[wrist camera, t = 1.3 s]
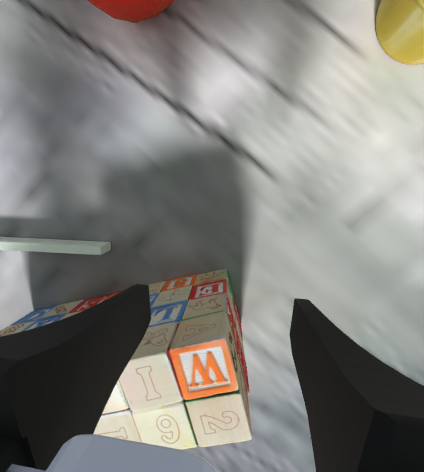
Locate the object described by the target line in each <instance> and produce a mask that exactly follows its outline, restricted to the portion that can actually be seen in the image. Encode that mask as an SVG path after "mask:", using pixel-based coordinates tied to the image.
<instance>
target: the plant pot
mask: <svg viewBox="0 0 424 472" xmlns="http://www.w3.org/2000/svg"><path fill="white" fill-rule="evenodd" d="M376 33H377V38H378V41H379V43H380V45H381V47H382V49H383V50H384V51H385V53H386V54H387V55H389V56H390V57H391V58H393V59H394V60H396V61H398V62H401V63H404V64H412V65H415V64H423V63H424V0H381V2H380V5H379V8H378V11H377V16H376Z"/></svg>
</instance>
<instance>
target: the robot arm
mask: <svg viewBox="0 0 424 472" xmlns="http://www.w3.org/2000/svg"><path fill="white" fill-rule="evenodd" d="M150 321H151V309H150V295H149V285H142V284H137V285H134V286H132V287H130V288H128V289H126V290H124V291H122V292H120V293H118V294H116V295H114V296H113V297H111V298H109V299H107V300H105V301H103V302H101V303H99V304H97V305H95V306H92V307H90V308H88V309H86V310H84V311H82V312H79V313H77V314H75V315H72V316H69V317H67V318H64V319H62V320H59V321H56V322H53V323H49V324H46V325H43V326H40V327H37V328H33V329H30V330H26V331H22V332H18V333H14V334H10V335H6V336H1V337H0V472H218V471H217V470H216V469H215V468H214V467H213V466H212V465H211V464H210V463H208V462H207V461H206V460H205V459H204V458H203V457H201V456H198V455H195V454H193V453H190V452H187V451H184V450H180V449H175V448H169V447H164V446H158V445H152V444H147V443H141V442H136V441H130V440H125V439H119V438H114V437H108V436H103V435H97V434H93V433H94V431H95V429H96V426H97V424H98V422H99V420H100V417H101V415H102V413H103V411H104V408H105V406H106V404H107V402H108V400H109V398H110V396H111V393H112V391H113V389H114V387H115V385H116V383H117V381H118V380H119V378H120V376H121V374H122V373H123V371H124V369H125V368H126V366H127V364H128V363H129V361H130V359H131V358H132V356H133V354H134V353H135V351H136V349H137V348H138V346H139V344H140V343H141V341H142V339H143V337H144V335H145V333H146V331H147V328H148V326H149V324H150ZM290 340H291V348H292V355H293V359H294V363H295V367H296V371H297V375H298V378H299V382H300V386H301V390H302V394H303V397H304V401H305V406H306V410H307V415H308V421H309V427H310V433H311V439H312V446H313V453H314V459H315V466H316V472H424V386H423V385H421V384H419V383H417V382H415V381H413V380H412V379H410V378H408V377H406V376H404V375H403V374H401V373H399V372H398V371H396V370H395V369H393V368H391V367H390V366H388V365H386V364H385V363H383V362H382V361H380V360H379V359H377V358H376V357H374V356H373V355H372V354H370V353H369V352H367V351H366V350H365V349H363V348H362V347H360V346H359V345H358V344H357V343H355V342H354V341H353V340H352V339H350V338H349V337H348V336H347V335H346V334H344V333H343V332H342V331H341V330H340V329H339V328H337V327H336V326H335V325H334V324H333V323H332V322H331V321H330V320H329V319H328V318H327V317H326V316H325V315H324V314H323V313H322V312H321V311H319V310H318V309H317V308H316V307H315V306H314V305H313V304H312V303H311V302H310V301H309V300H307V299H296V298H295V300H294V307H293V315H292V322H291V329H290Z"/></svg>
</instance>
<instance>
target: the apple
mask: <svg viewBox="0 0 424 472" xmlns="http://www.w3.org/2000/svg"><path fill="white" fill-rule="evenodd" d="M88 1H89V2H90V3H92V4H93V5H94V6H96V7H97V8H99V9H101V10H102V11H104V12H105V13H107V14H109V15H110V16H112V17H113V18H116V19H120V20H125V21H129V22H134V23H137V22H140V21H143V20H146V19H149V18H152V17H154V16H157V15H158V14H159V13H160V12H162V11H163V10H164V9H165V8H166V7H168V6H169V5H170V4H171V3H172V2H174V1H175V0H88Z"/></svg>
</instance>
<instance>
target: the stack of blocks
mask: <svg viewBox="0 0 424 472" xmlns="http://www.w3.org/2000/svg"><path fill="white" fill-rule="evenodd" d="M148 285H149V295H150V309H151V321H150V324H149V326H148V328H147V331H146V333H145V335H144V337H143V339H142V341H141V343H140V344H139V346H138V348H137V349H136V351H135V353H134V354H133V356H132V358H131V359H130V361H129V363H128V364H127V366H126V368H125V369H124V371H123V373H122V374H121V376H120V378H119V380H118V381H117V383H116V385H115V387H114V389H113V391H112V393H111V396H110V398H109V400H108V402H107V404H106V406H105V408H104V411H103V413H102V415H101V417H100V420H99V422H98V424H97V426H96V429H95V431H94V433H93V434H97V435H103V436H108V437H114V438H119V439H125V440H130V441H136V442H141V443H147V444H152V445H158V446H164V447H169V448H175V449H180V450H181V449H187V448H194V447H196V446H197V445H199V446H200V447H208V446H215V445H221V444H228V443H235V442H242V441H248V440H250V439H252V432H251V423H250V414H249V405H248V397H247V395H248V394H249V384H248V376H247V367H246V362H245V356H244V348H243V342H242V341H243V340H242V330H241V322H240V318H239V314H238V310H237V306H236V302H235V298H234V296H233V292H232V288H231V284H230V280H229V276H228V272H227V269H222V270H217V271H213V272H208V273H203V274H198V275H197V274H195V275H190V276H185V277H181V278H176V279H172V280H168V281H162V282H157V283H153V284H148ZM118 293H120V292H117V293H113V294H112V295H106V296H101V297H97V298H93V299H88V300H79V301H74V302H70V303H65V304H61V305H58V306H53V307H48V308H44V309H40V310H35V311H33V312H31V313H29V314H28V315H26V316H25V317H23V318H21V319H19V320H18V321H16V322H15V323H13V324H11V325H10V326H9V327H6V328H5V329H3V330H1V331H0V337H1V336H6V335H10V334H14V333H18V332H22V331H26V330H30V329H33V328H37V327H40V326H43V325H46V324H49V323H53V322H56V321H59V320H62V319H64V318H67V317H69V316H72V315H75V314H77V313H79V312H82V311H84V310H86V309H88V308H90V307H92V306H95V305H97V304H99V303H101V302H103V301H105V300H107V299H109V298H111V297H113V296H114V295H116V294H118Z"/></svg>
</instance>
